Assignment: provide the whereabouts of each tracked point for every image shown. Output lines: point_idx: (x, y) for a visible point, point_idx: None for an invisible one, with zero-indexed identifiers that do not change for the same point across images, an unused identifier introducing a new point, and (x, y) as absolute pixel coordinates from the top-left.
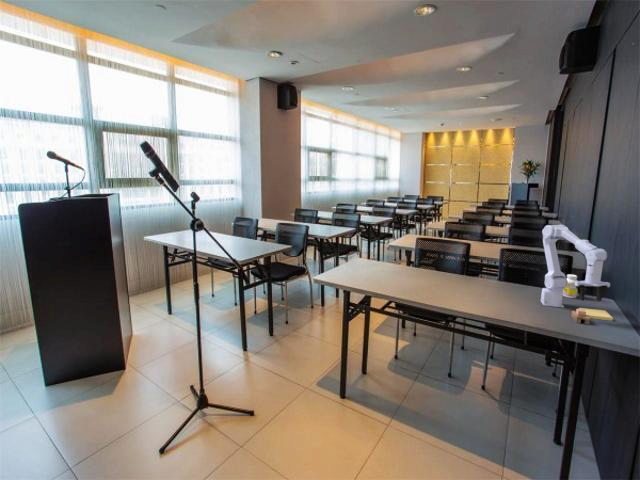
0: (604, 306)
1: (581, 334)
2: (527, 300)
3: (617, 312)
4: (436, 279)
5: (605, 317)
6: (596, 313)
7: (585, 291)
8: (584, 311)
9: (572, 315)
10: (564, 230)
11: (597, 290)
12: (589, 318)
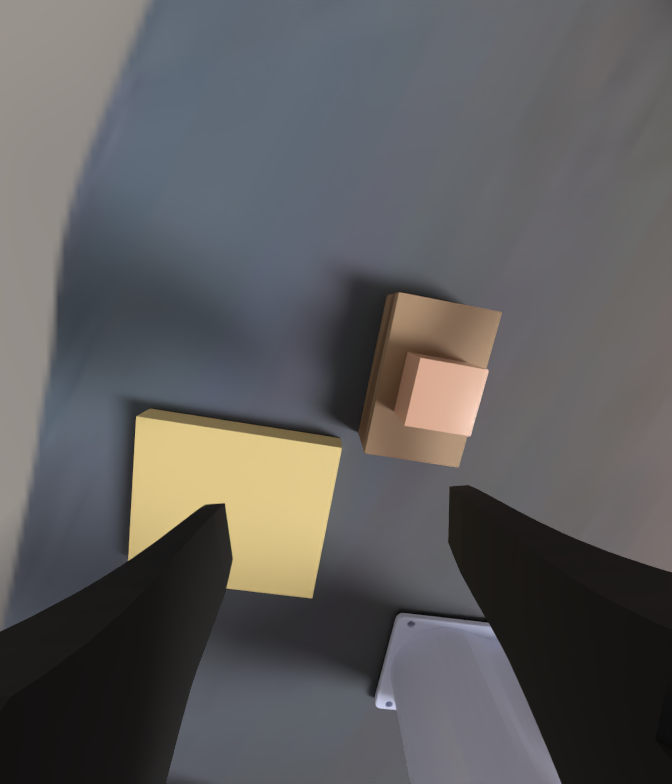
0: None
1: (588, 25)
2: None
3: (30, 593)
4: None
5: (195, 424)
6: (231, 497)
7: (584, 578)
8: (431, 364)
9: None
10: None
11: (167, 750)
12: (400, 293)
